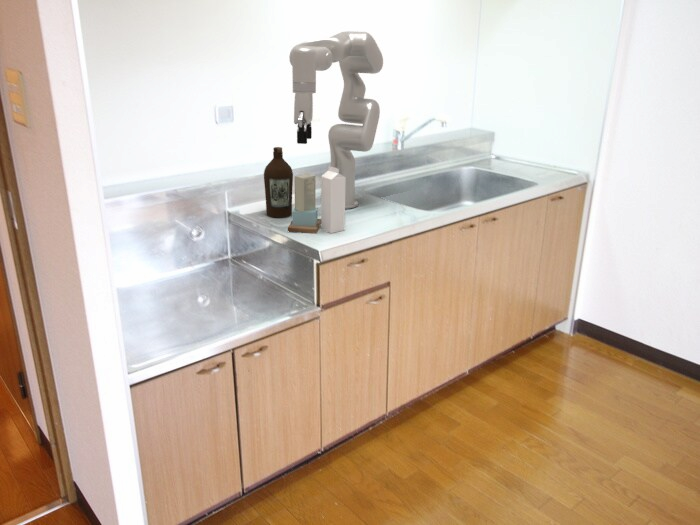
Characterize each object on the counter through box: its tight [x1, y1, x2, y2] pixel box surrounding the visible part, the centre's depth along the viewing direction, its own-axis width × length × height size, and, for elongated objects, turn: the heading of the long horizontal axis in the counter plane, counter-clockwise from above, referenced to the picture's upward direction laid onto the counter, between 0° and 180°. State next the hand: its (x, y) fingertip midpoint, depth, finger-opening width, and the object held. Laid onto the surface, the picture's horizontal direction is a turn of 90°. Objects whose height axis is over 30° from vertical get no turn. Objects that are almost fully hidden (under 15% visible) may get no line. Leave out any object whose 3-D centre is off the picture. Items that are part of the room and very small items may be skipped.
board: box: [287, 218, 321, 234], centre depth 216 cm, size 12×10×2 cm
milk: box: [320, 165, 346, 234], centre depth 211 cm, size 6×6×22 cm
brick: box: [291, 207, 319, 226], centre depth 215 cm, size 6×8×5 cm
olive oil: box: [263, 146, 294, 219], centre depth 226 cm, size 11×11×25 cm
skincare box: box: [293, 172, 317, 212], centre depth 212 cm, size 6×4×12 cm
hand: (304, 140), depth 206 cm, fingers open, 9 cm apart
